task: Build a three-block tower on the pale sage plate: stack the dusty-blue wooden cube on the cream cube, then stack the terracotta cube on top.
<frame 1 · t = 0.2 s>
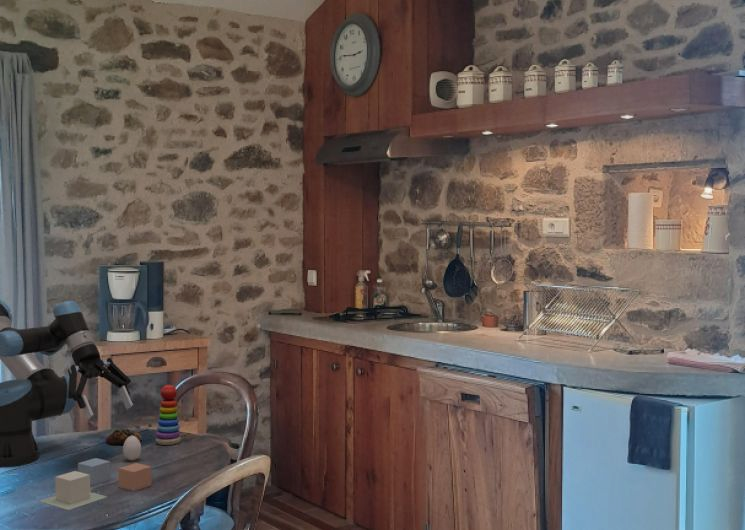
hand: (110, 412, 255), 16 cm above the table, fingers open, 13 cm apart
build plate: (73, 501, 224), on the table
egg: (132, 460, 261), on the table
bread roll: (123, 442, 283), on the table
block c: (135, 489, 234), on the table
stacking toy: (168, 443, 281), on the table
block a: (73, 498, 224), point 1 cm above the table, touching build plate
block b: (94, 483, 239), on the table
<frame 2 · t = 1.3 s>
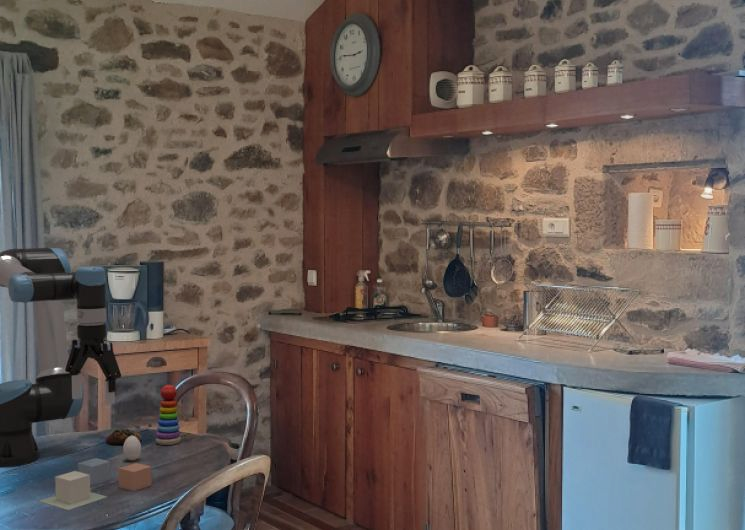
hand: (93, 401, 238), 23 cm above the table, fingers open, 13 cm apart
nothing on the table moved.
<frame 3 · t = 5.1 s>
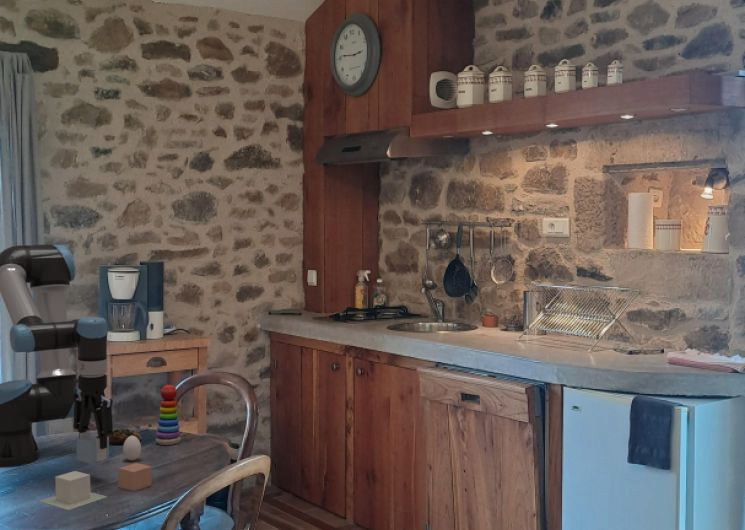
hand: (93, 457, 239), 7 cm above the table, fingers closed on block b, 6 cm apart
block b: (93, 459, 239), point 7 cm above the table, touching gripper
everything else where it was.
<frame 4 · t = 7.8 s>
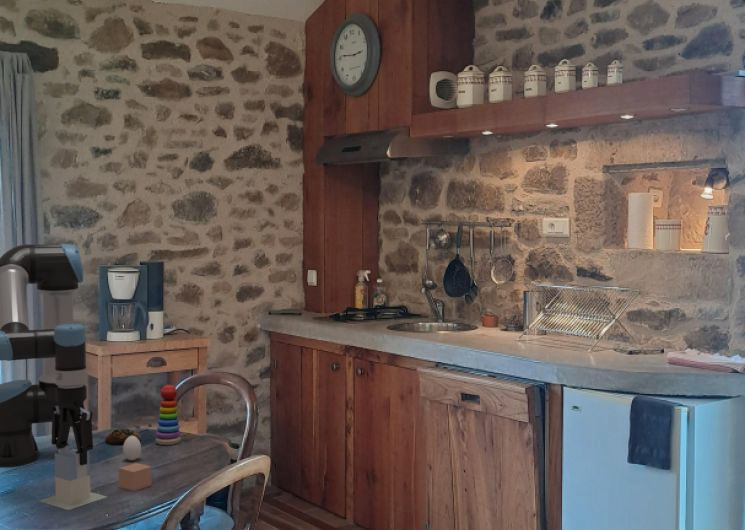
hand: (72, 474, 223), 7 cm above the table, fingers closed on block b, 6 cm apart
block a: (73, 498, 224), point 1 cm above the table, touching block b, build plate, gripper
block b: (72, 476, 223), point 7 cm above the table, touching block a, gripper
everything else where it was.
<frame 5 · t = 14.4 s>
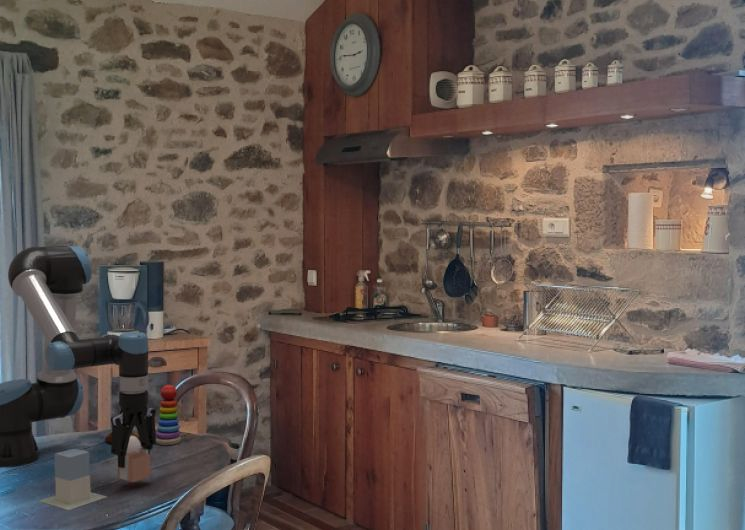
hand: (134, 475, 234), 4 cm above the table, fingers closed on block c, 6 cm apart
block c: (134, 477, 234), point 3 cm above the table, touching gripper
block a: (73, 498, 224), point 1 cm above the table, touching block b, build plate
block b: (72, 475, 223), point 7 cm above the table, touching block a
everything else where it was.
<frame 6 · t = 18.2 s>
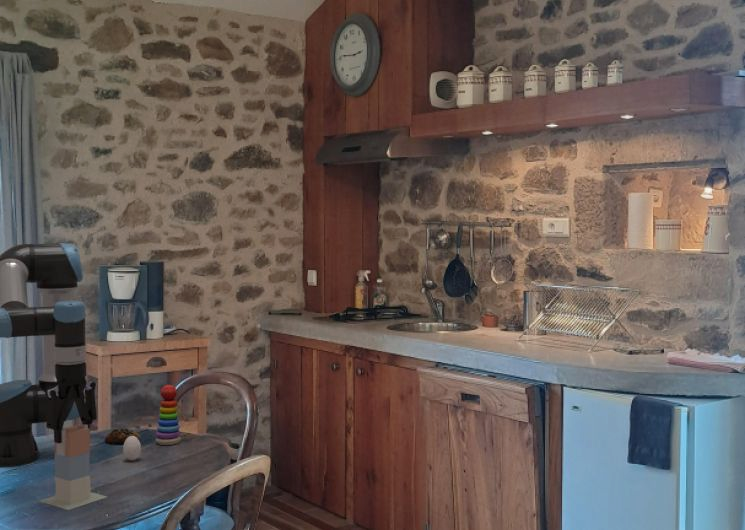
hand: (72, 451, 223), 13 cm above the table, fingers closed on block c, 6 cm apart
block c: (72, 452, 223), point 13 cm above the table, touching block b, gripper
block b: (72, 475, 223), point 7 cm above the table, touching block a, block c, gripper
when the fingers open (13 cm above the table, at t = 18.7 s): block c stays where it is, resting on block b.
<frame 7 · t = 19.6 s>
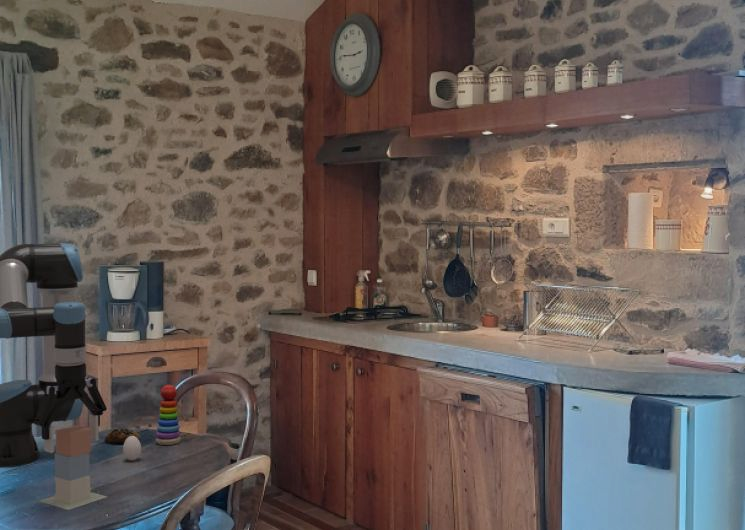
hand: (72, 445, 223), 15 cm above the table, fingers open, 13 cm apart
block c: (73, 452, 223), point 13 cm above the table, touching block b
block b: (72, 475, 223), point 7 cm above the table, touching block a, block c
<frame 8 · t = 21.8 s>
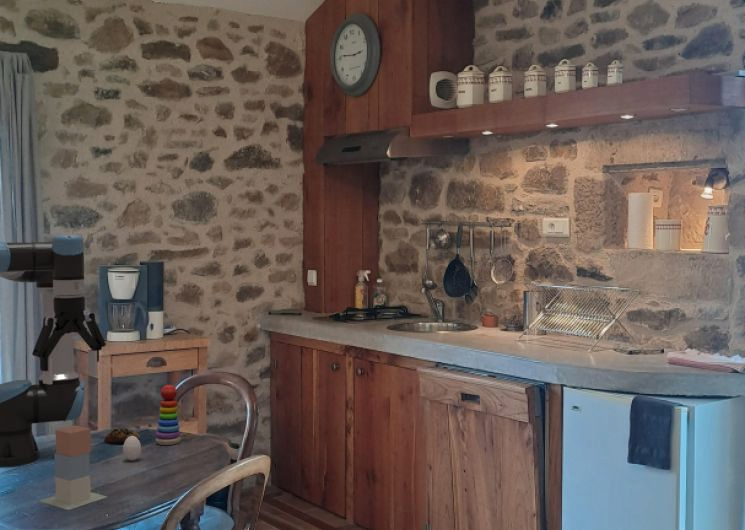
hand: (70, 379, 222), 32 cm above the table, fingers open, 13 cm apart
at the end: block b 0.1 cm off-centre on the block a, point 6.0 cm above the block a's base; block c 0.4 cm off-centre on the block a, point 12.0 cm above the block a's base; block c tilted 0° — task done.
